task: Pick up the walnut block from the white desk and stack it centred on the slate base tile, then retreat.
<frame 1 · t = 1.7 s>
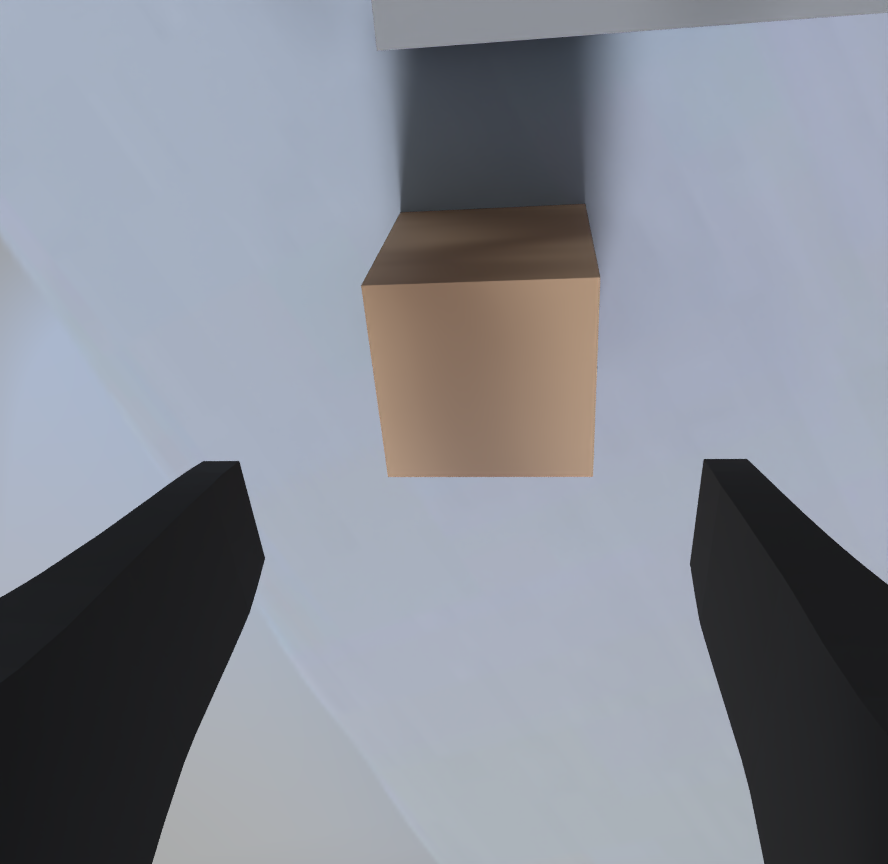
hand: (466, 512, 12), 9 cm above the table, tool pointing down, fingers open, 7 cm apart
walnut block: (495, 294, 19), on the table
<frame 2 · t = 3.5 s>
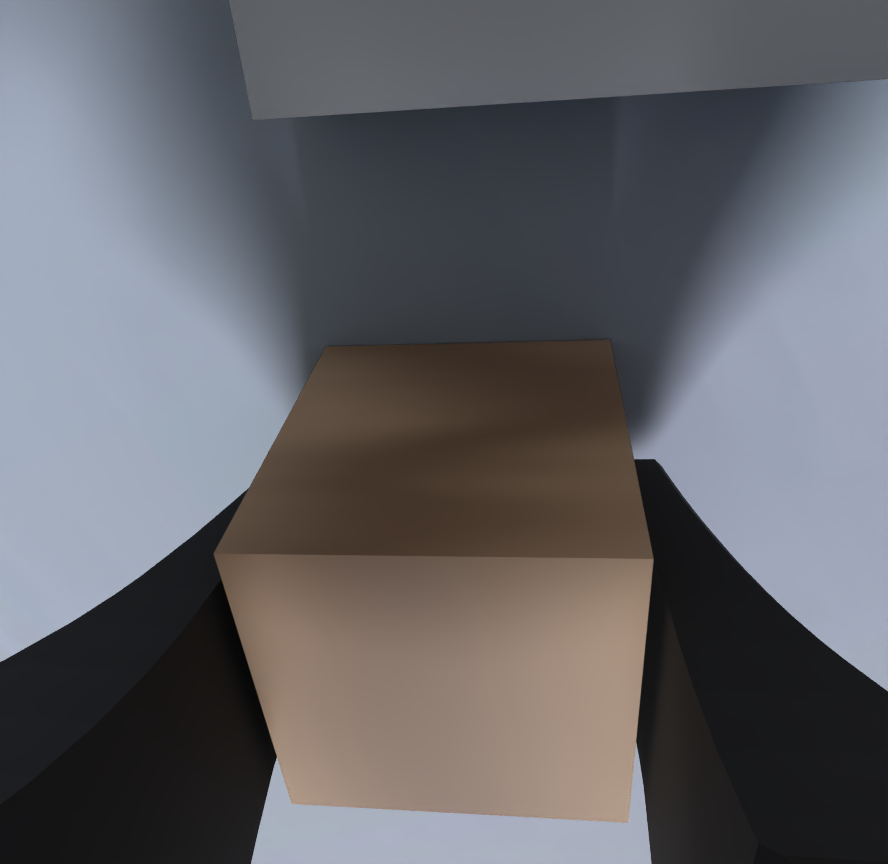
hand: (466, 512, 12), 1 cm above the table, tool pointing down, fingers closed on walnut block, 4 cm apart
walnut block: (472, 461, 13), on the table, touching gripper
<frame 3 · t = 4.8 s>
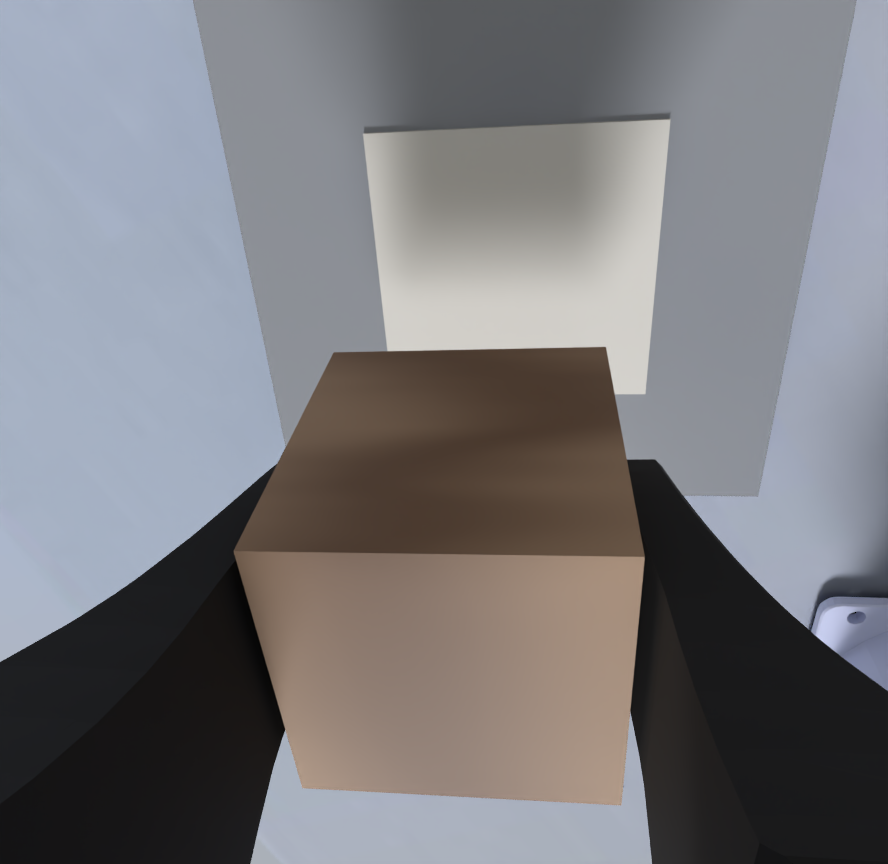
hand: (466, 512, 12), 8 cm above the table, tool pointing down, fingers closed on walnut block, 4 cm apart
slate base: (516, 243, 18), on the table
walnut block: (473, 462, 13), point 7 cm above the table, touching gripper
when the fingers open (5 cm above the table, at t = 6.4 s): walnut block stays where it is, resting on slate base.
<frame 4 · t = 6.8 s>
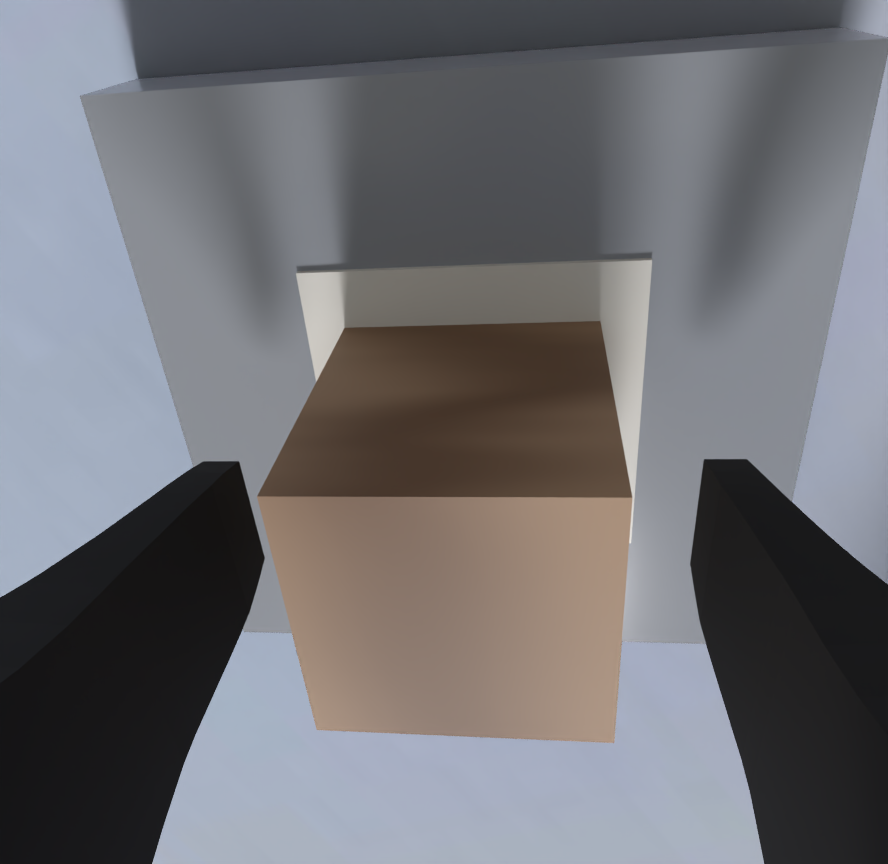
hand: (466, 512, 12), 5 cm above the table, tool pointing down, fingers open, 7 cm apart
slate base: (484, 368, 16), on the table
walnut block: (476, 433, 14), point 2 cm above the table, touching slate base
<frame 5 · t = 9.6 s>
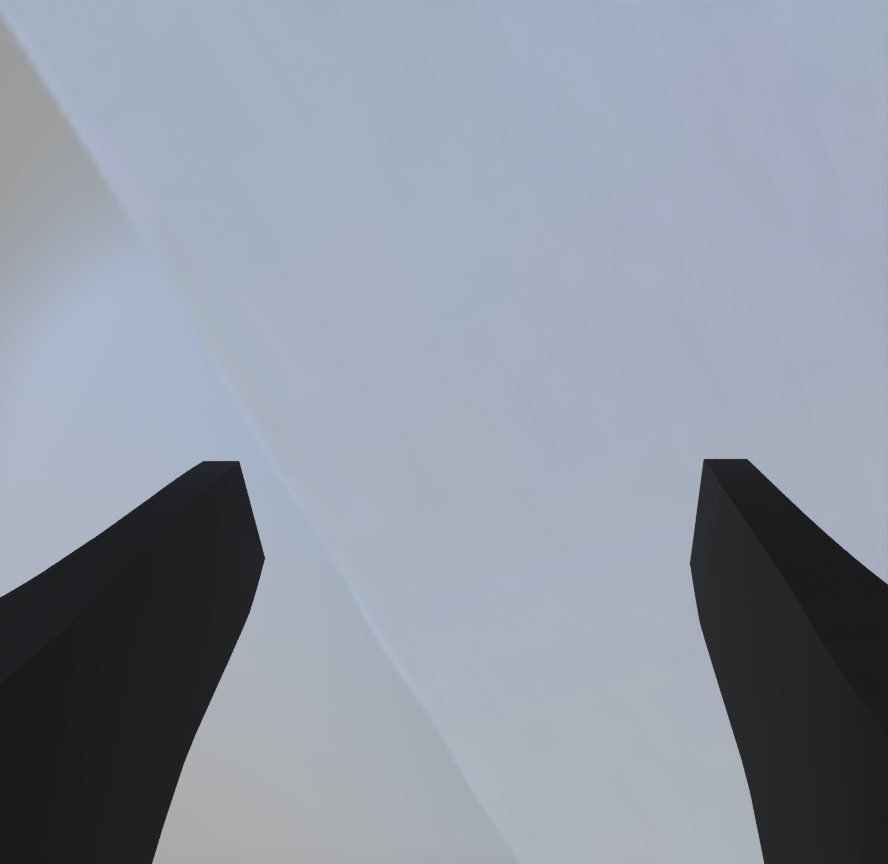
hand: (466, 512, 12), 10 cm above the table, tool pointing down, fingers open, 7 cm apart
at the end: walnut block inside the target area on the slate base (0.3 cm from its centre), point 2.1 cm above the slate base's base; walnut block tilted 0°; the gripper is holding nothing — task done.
